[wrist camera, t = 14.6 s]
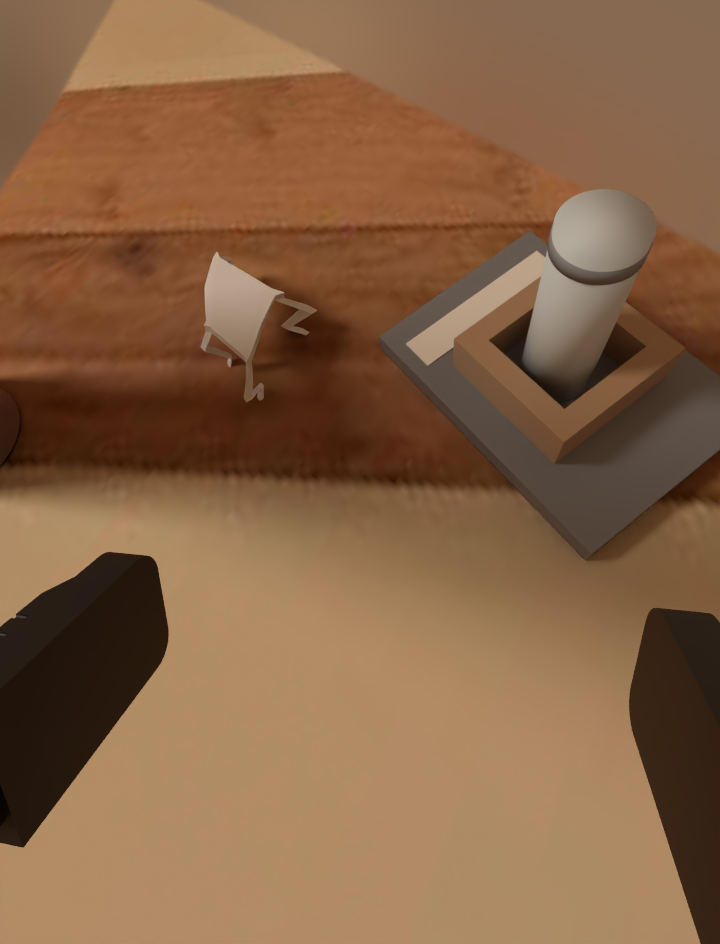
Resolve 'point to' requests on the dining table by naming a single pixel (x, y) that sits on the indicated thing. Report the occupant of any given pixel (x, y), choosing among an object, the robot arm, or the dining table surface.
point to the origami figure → (242, 314)
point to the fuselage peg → (584, 286)
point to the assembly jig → (566, 422)
